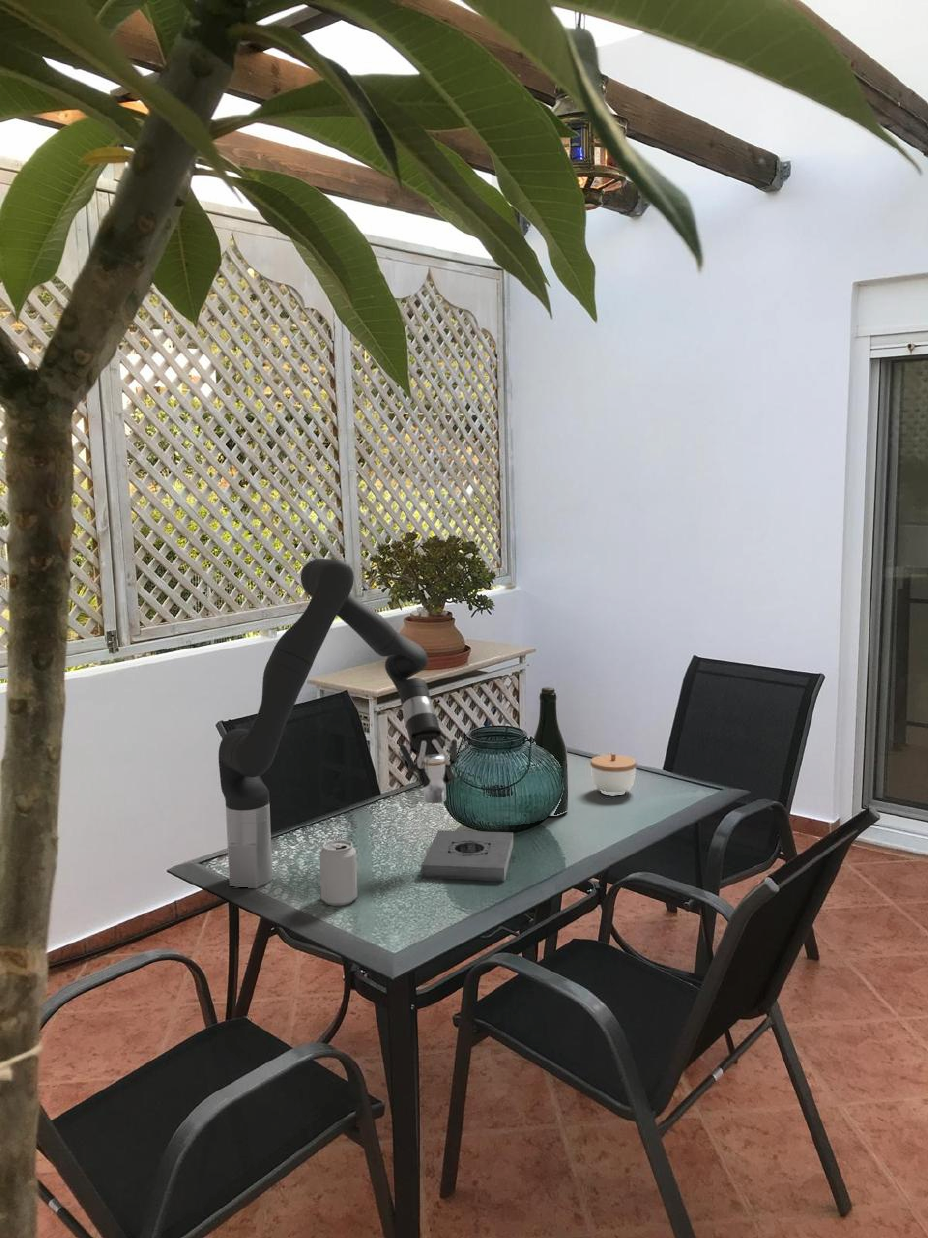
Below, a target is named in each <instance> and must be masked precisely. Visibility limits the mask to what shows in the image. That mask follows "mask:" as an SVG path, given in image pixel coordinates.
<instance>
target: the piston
mask: <svg viewBox="0 0 928 1238" xmlns="http://www.w3.org/2000/svg"><path fill="white" fill-rule="evenodd" d="M423 769H424V771H425V774H426V778H427V787H423V800H424V802H426V803H428V804H429V803H430V804H440V803H443V802H445V801H447V784H446V773H445V755H443V754H427V755H425V756H423Z"/></svg>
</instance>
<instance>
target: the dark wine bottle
mask: <svg viewBox="0 0 928 1238" xmlns="http://www.w3.org/2000/svg"><path fill="white" fill-rule="evenodd" d="M538 697H539V717H538V724H537V726H536V731H535V732H534V736H533V738H532V740H533V739H534V741H535V742H536V745H538V746H540V747H542V748H544V749H545V750H547V751H548V752H549V753H550V754H552V755H553V756H554V758H555V759H556V760H557V761H558V762H559V764H560V766H561V769H562V773H563V778H564V790H563V795H562V797H561V801H560V803H559V805H558V807H557V809H556V811H555V813H554V815H557V814H560V813H563V812H565V811H567V810H568V811H569V804H570V803H569V802H570V801H569V762H568V760H569V759H568V751H567V746H566V744H565V743H566V742H565V740H564V737H563V735H562V733H561V730H560V726H559V724H558V717H557V716H558V714H557V694H556V692H555V688H554V687H549V686H548V687H547V686H546V687H542V688H541V692H539V696H538ZM568 811H567V812H568Z"/></svg>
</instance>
